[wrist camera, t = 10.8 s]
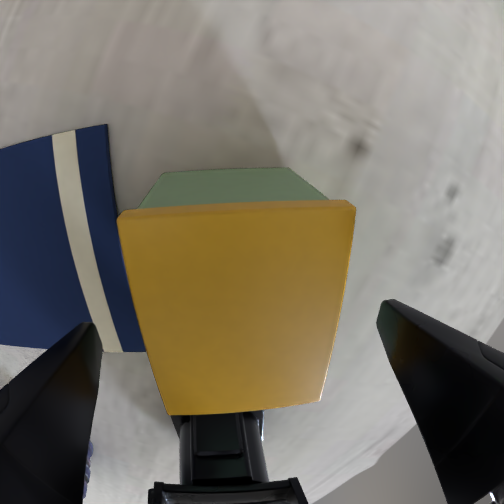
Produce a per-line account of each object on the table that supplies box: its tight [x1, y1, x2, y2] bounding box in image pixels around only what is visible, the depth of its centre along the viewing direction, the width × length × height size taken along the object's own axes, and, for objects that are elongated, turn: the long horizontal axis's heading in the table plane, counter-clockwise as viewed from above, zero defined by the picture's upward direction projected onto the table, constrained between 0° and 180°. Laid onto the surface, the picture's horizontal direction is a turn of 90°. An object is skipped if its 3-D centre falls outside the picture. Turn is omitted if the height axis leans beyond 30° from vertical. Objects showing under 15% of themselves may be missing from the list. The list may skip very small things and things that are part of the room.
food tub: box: [117, 168, 356, 415], centre depth 11 cm, size 8×6×6 cm
